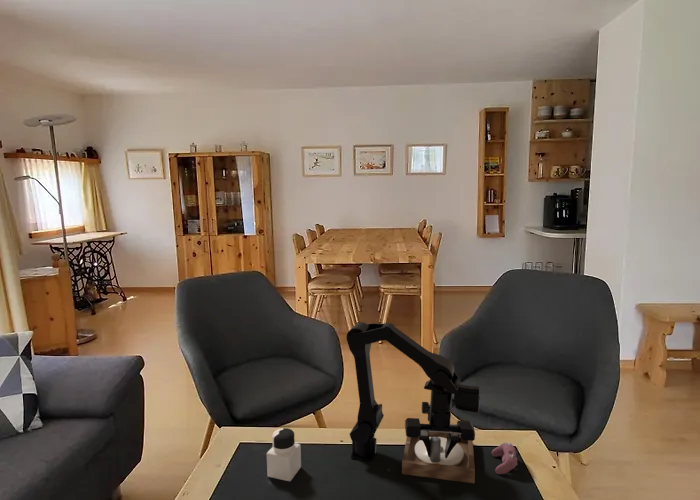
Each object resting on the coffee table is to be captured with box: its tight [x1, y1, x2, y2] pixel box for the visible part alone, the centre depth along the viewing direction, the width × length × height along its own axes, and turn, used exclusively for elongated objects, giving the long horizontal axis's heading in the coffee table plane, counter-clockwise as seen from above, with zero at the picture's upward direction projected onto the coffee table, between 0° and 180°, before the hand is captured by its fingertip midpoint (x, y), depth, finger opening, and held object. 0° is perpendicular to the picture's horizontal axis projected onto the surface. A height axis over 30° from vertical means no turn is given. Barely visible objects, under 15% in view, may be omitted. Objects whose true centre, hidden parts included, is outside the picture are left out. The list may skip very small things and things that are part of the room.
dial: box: [415, 437, 464, 466], centre depth 132 cm, size 14×14×7 cm
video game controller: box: [490, 441, 518, 475], centre depth 128 cm, size 10×5×7 cm, turn 170°
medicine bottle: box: [266, 427, 302, 482], centre depth 126 cm, size 7×7×12 cm
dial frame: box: [401, 432, 476, 484], centre depth 132 cm, size 19×19×4 cm
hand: (437, 456), depth 127 cm, fingers open, 4 cm apart
